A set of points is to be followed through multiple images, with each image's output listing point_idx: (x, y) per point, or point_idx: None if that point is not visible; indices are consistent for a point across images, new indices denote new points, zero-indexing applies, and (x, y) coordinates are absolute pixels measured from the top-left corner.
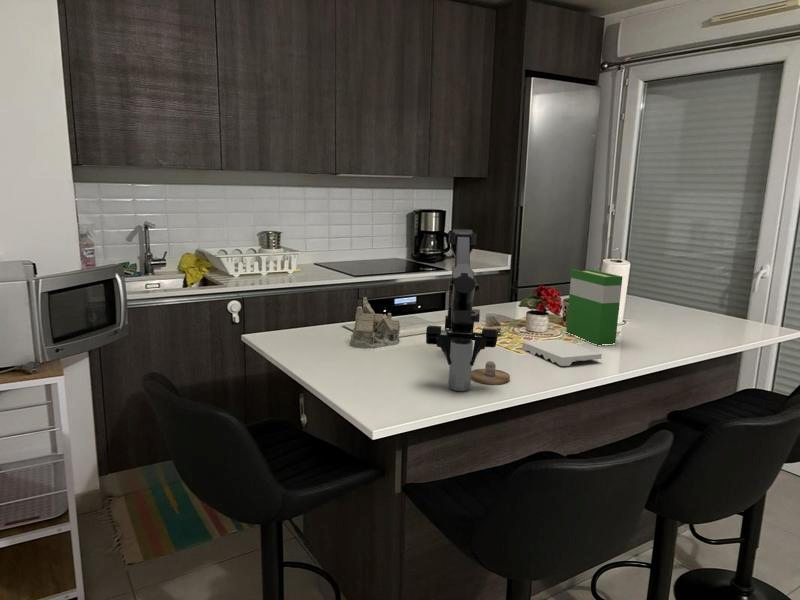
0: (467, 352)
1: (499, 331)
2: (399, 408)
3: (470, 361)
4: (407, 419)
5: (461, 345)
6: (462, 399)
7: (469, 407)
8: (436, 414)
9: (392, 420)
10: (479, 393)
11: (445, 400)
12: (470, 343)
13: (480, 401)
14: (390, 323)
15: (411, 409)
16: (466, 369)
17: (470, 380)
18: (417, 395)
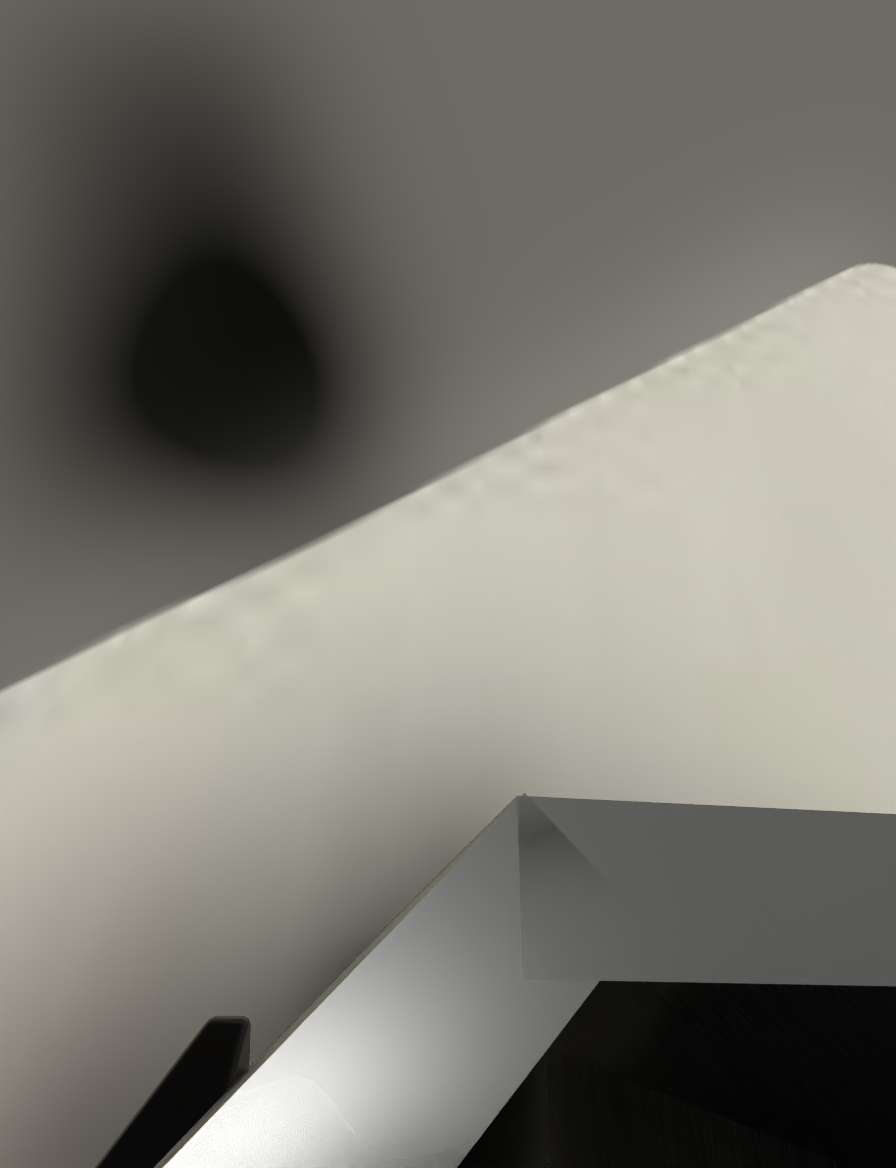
0: (401, 915)
1: None
2: (880, 486)
3: (274, 1044)
4: (773, 345)
5: (755, 823)
6: (415, 701)
7: (368, 523)
8: (616, 405)
9: (847, 335)
10: (182, 927)
11: (577, 661)
12: (241, 1126)
13: (235, 664)
14: None
15: (798, 473)
16: (375, 939)
17: (281, 1034)
18: (851, 764)
